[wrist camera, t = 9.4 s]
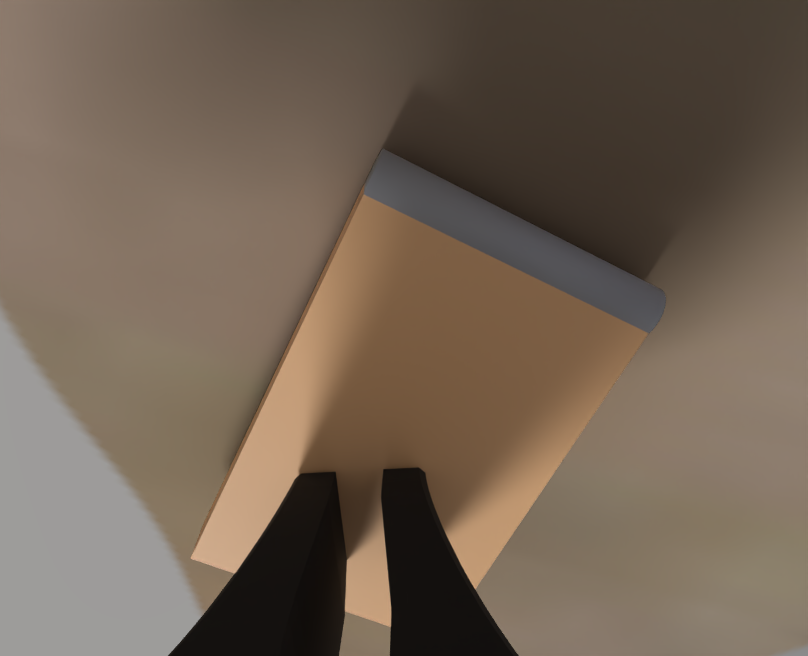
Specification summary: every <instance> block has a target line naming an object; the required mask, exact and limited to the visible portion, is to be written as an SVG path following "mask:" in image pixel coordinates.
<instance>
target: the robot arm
mask: <svg viewBox="0 0 808 656" xmlns="http://www.w3.org/2000/svg"><path fill="white" fill-rule="evenodd" d="M381 504H382V515H383V525H384V536H385V547H386V558H387V569H388V579H389V590H390V601H391V639H390V656H518V654H517V653H516V652H515V650H514V649H513V647H512V646H511V644H510V643H509V642H508V640H507V639H506V637H505V636H504V634H503V633H502V631H501V630H500V629H499V627H498V626H497V624H496V622H495V621H494V619H493V618H492V616H491V615H490V613H489V612H488V610H487V608H486V607H485V605H484V604H483V602H482V600H481V599H480V597H479V595H478V594H477V592H476V590H475V588H474V587H473V585H472V583H471V582H470V580H469V578H468V576H467V574H466V573H465V571H464V569H463V567H462V565H461V563H460V562H459V560H458V558H457V555H456V553H455V551H454V549H453V547H452V545H451V543H450V541H449V539H448V537H447V535H446V533H445V531H444V529H443V526H442V524H441V522H440V519H439V517H438V514H437V512H436V509H435V507H434V504H433V501H432V498H431V495H430V492H429V488H428V484H427V480H426V473H425V472H424V471H423V470H422V469H420V468H419V467H416V468H397V469H383V477H382V489H381ZM346 572H347V557H346V548H345V540H344V533H343V525H342V517H341V509H340V502H339V494H338V486H337V478H336V472H319V473H301V474H300V475H299V476H297V477H296V478H295V480H294V482H293V483H292V485H291V487H290V489H289V491H288V492H287V494H286V496H285V498H284V499H283V501H282V503H281V504H280V506H279V508H278V509H277V511H276V513H275V514H274V516H273V518H272V519H271V521H270V522H269V524H268V526H267V527H266V529H265V530H264V532H263V533H262V535H261V536H260V538H259V539H258V541H257V542H256V544H255V545H254V547H253V548H252V550H251V551H250V553H249V554H248V556H247V557H246V559H245V560H244V561H243V563H242V564H241V566H240V567H239V569H238V570H237V571H236V573H235V574H234V575H233V577H232V578H231V579H230V581H229V582H228V583H227V585H226V586H225V587H224V589H223V590H222V591H221V593H220V594H219V595H218V596H217V598H216V599H215V600H214V602H213V603H212V604H211V606H210V607H209V608H208V610H207V611H206V612H205V613H204V615H203V616H202V617H201V618H200V619H199V621H198V622H197V623H196V625H195V626H194V627H193V628H192V629H191V630H190V631H189V633H188V634H187V635H186V636H185V637H184V639H183V640H182V641H181V642H180V643H179V644H178V645H177V646H176V647H175V649H174V650H173V651H172V652H171V653H170V654H169V655H168V656H339V651H340V644H341V637H342V631H343V624H344V617H345V597H346Z"/></svg>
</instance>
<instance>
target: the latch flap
mask: <svg viewBox="0 0 808 656" xmlns="http://www.w3.org/2000/svg"><path fill="white" fill-rule="evenodd" d="M665 303H666V297H665V293H664V292H663V291H662V290H661V289H659V288H657V287H655V286H653V285H651V284H649V283H647V282H645V281H644V280H642V279H640V278H638V277H636V276H634V275H632V274H630V273H628V272H626V271H624V270H622V269H620V268H618V267H616V266H614V265H612V264H610V263H608V262H606V261H604V260H602V259H600V258H598V257H596V256H594V255H592V254H590V253H588V252H586V251H584V250H582V249H580V248H578V247H576V246H574V245H572V244H571V243H569V242H567V241H565V240H563V239H561V238H559V237H557V236H555V235H553V234H551V233H549V232H547V231H545V230H543V229H541V228H539V227H537V226H535V225H533V224H531V223H529V222H527V221H525V220H523V219H521V218H519V217H517V216H515V215H513V214H511V213H509V212H507V211H505V210H503V209H501V208H499V207H497V206H496V205H494V204H492V203H490V202H488V201H486V200H484V199H482V198H480V197H478V196H476V195H474V194H472V193H470V192H468V191H466V190H464V189H462V188H460V187H458V186H456V185H454V184H452V183H450V182H448V181H446V180H444V179H442V178H440V177H438V176H436V175H434V174H432V173H430V172H428V171H426V170H424V169H423V168H421V167H419V166H417V165H415V164H413V163H411V162H409V161H407V160H405V159H403V158H401V157H399V156H397V155H395V154H393V153H391V152H389V151H387V150H385V149H382V150H381V152H380V154H379V155H378V157H377V159H376V161H375V163H374V165H373V167H372V169H371V171H370V173H369V175H368V178H367V180H366V182H365V183H364V185H363V188H362V190H361V192H360V194H359V196H358V198H357V200H356V202H355V204H354V207H353V209H352V211H351V213H350V215H349V217H348V219H347V221H346V223H345V226H344V228H343V230H342V232H341V234H340V236H339V238H338V240H337V243H336V245H335V247H334V249H333V251H332V253H331V255H330V257H329V259H328V262H327V264H326V266H325V268H324V270H323V272H322V274H321V276H320V278H319V281H318V283H317V285H316V287H315V289H314V291H313V293H312V295H311V297H310V300H309V302H308V304H307V306H306V308H305V310H304V312H303V314H302V316H301V319H300V321H299V323H298V325H297V327H296V329H295V331H294V333H293V335H292V338H291V340H290V342H289V344H288V346H287V348H286V350H285V352H284V355H283V357H282V359H281V361H280V363H279V365H278V367H277V369H276V371H275V374H274V376H273V378H272V380H271V382H270V384H269V386H268V388H267V390H266V393H265V395H264V397H263V399H262V401H261V403H260V405H259V407H258V409H257V412H256V414H255V416H254V418H253V420H252V422H251V424H250V426H249V428H248V431H247V433H246V435H245V437H244V439H243V441H242V443H241V445H240V447H239V450H238V452H237V454H236V456H235V458H234V460H233V462H232V464H231V467H230V469H229V471H228V473H227V475H226V477H225V479H224V481H223V483H222V486H221V488H220V490H219V492H218V494H217V496H216V498H215V500H214V502H213V505H212V507H211V509H210V511H209V513H208V515H207V517H206V519H205V521H204V524H203V526H202V528H201V531H200V534H199V537H198V539H197V542H196V545H195V548H194V550H193V553H192V556H191V559H194V560H197V561H200V562H202V563H205V564H208V565H211V566H214V567H217V568H220V569H223V570H226V571H229V572H232V573H236V571H237V570H238V569H239V567H240V566H241V564H242V563H243V561H244V560H245V559H246V557H247V556H248V554H249V553H250V551H251V550H252V548H253V547H254V545H255V544H256V542H257V541H258V539H259V538H260V536H261V535H262V533H263V532H264V530H265V529H266V527H267V526H268V524H269V522H270V521H271V519H272V518H273V516H274V514H275V513H276V511H277V509H278V508H279V506H280V504H281V503H282V501H283V499H284V498H285V496H286V494H287V492H288V491H289V489H290V487H291V485H292V483H293V482H294V480H295V478H296V477H297V476H299V475H300V474H301V473H319V472H336V478H337V486H338V494H339V502H340V509H341V517H342V525H343V533H344V540H345V548H346V557H347V572H346V597H345V611H346V612H349V613H352V614H354V615H357V616H360V617H363V618H366V619H369V620H372V621H375V622H378V623H381V624H384V625H387V626H390V627H391V601H390V590H389V579H388V569H387V558H386V547H385V536H384V525H383V515H382V504H381V489H382V477H383V469H397V468H416V467H419V468H420V469H422V470H423V471H424V472H425V473H426V480H427V484H428V488H429V492H430V495H431V498H432V501H433V504H434V507H435V509H436V512H437V514H438V517H439V519H440V522H441V524H442V526H443V529H444V531H445V533H446V535H447V537H448V539H449V541H450V543H451V545H452V547H453V549H454V551H455V553H456V555H457V558H458V560H459V562H460V563H461V565H462V567H463V569H464V571H465V573H466V574H467V576H468V578H469V580H470V582H471V583H472V585H473V587H474V588H475V589H476V587H477V586H478V584H479V583H480V581H481V580H482V578H483V577H484V576H485V574H486V573H487V571H488V570H489V568H490V567H491V565H492V564H493V562H494V561H495V559H496V558H497V556H498V555H499V553H500V552H501V550H502V549H503V547H504V546H505V545H506V543H507V542H508V540H509V539H510V537H511V536H512V534H513V533H514V531H515V530H516V528H517V527H518V525H519V524H520V522H521V521H522V519H523V518H524V517H525V515H526V514H527V512H528V511H529V509H530V508H531V506H532V505H533V503H534V502H535V500H536V499H537V497H538V496H539V494H540V493H541V491H542V490H543V489H544V487H545V486H546V484H547V483H548V481H549V480H550V478H551V477H552V475H553V474H554V472H555V471H556V469H557V468H558V466H559V465H560V463H561V462H562V461H563V459H564V458H565V456H566V455H567V453H568V452H569V450H570V449H571V447H572V446H573V444H574V443H575V441H576V440H577V438H578V437H579V435H580V434H581V432H582V431H583V430H584V428H585V427H586V425H587V424H588V422H589V421H590V419H591V418H592V416H593V415H594V413H595V412H596V410H597V409H598V407H599V406H600V404H601V403H602V402H603V400H604V399H605V397H606V396H607V394H608V393H609V391H610V390H611V388H612V387H613V385H614V384H615V382H616V381H617V379H618V378H619V376H620V375H621V374H622V372H623V371H624V369H625V368H626V366H627V365H628V363H629V362H630V360H631V359H632V357H633V356H634V354H635V353H636V351H637V350H638V348H639V347H640V345H641V344H642V343H643V341H644V340H645V338H646V337H647V335H648V334H649V333H650V332H651V331H652V330H653V329H654V327H655V326H656V325H657V323H658V322H659V320H660V318H661V316H662V314H663V312H664V308H665Z"/></svg>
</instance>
